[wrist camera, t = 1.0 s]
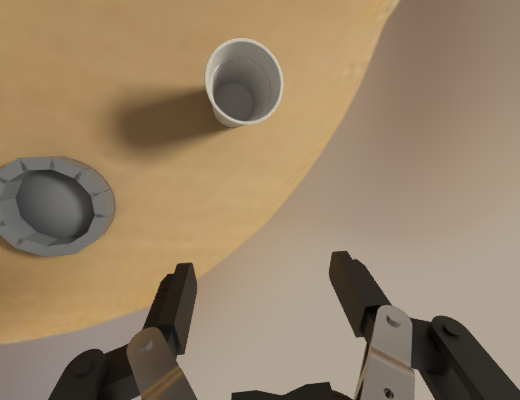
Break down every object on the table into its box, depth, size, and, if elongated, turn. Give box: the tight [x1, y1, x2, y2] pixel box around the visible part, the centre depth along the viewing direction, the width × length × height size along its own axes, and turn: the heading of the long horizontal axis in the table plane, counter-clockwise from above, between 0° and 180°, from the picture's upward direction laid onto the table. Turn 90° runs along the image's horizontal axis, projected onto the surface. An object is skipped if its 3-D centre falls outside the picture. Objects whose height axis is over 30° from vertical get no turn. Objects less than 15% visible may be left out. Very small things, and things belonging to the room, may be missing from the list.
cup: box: [205, 38, 283, 127], centre depth 28 cm, size 8×8×12 cm
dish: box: [0, 156, 115, 257], centre depth 30 cm, size 13×13×3 cm
